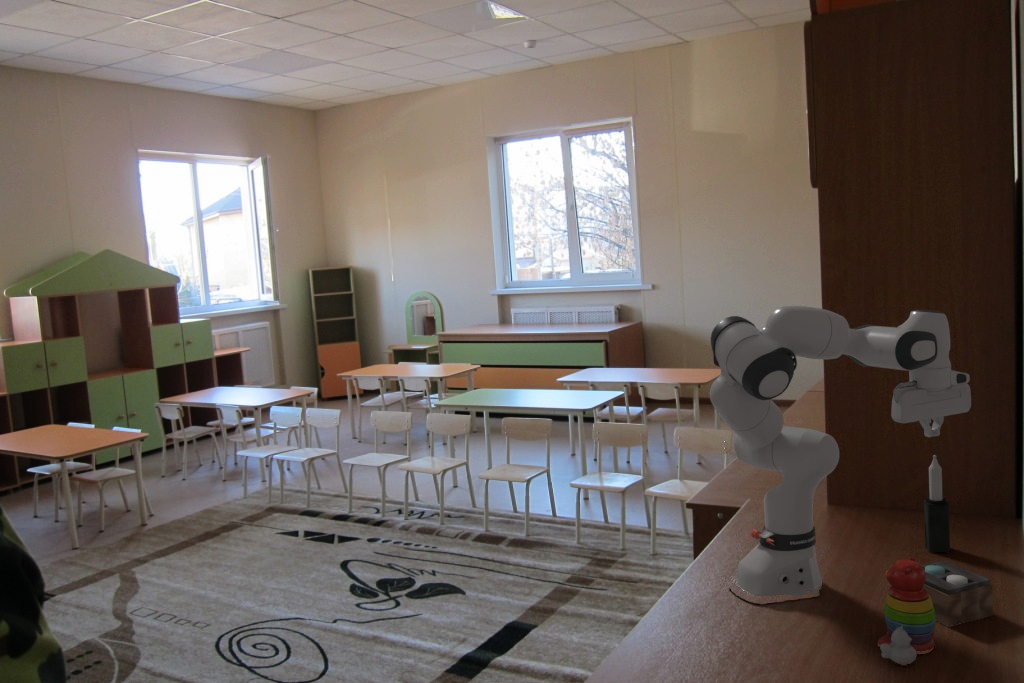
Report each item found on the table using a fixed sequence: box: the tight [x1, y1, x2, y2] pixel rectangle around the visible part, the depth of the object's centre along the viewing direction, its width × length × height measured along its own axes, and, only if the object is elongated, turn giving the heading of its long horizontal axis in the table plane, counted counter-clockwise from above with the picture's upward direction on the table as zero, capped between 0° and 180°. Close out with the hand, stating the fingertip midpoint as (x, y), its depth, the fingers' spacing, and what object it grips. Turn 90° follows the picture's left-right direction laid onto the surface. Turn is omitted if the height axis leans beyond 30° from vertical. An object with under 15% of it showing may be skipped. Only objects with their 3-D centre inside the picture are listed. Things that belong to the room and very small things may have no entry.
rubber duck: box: [879, 626, 918, 664], centre depth 167 cm, size 5×7×8 cm
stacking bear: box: [877, 556, 936, 652], centre depth 173 cm, size 11×10×18 cm
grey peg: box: [947, 575, 968, 586], centre depth 184 cm, size 4×4×8 cm
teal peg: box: [925, 565, 945, 576], centre depth 190 cm, size 4×4×8 cm
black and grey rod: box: [923, 454, 951, 553], centre depth 219 cm, size 5×5×25 cm
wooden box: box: [921, 559, 994, 626], centre depth 187 cm, size 12×13×8 cm
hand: (932, 436), depth 201 cm, fingers closed
